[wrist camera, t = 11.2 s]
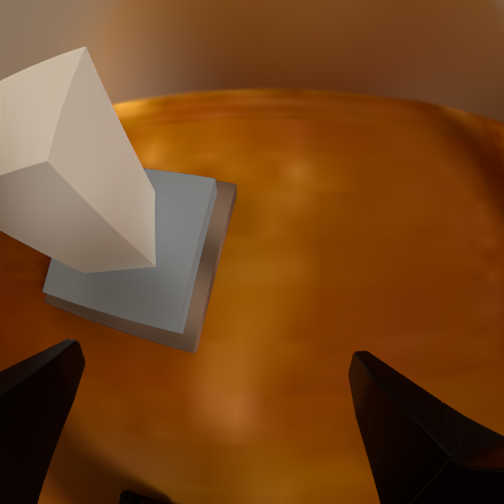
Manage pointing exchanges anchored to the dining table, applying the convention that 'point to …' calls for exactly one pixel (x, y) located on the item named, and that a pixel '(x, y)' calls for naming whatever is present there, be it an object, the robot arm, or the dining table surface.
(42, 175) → the ivory pillar block
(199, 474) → the dining table surface
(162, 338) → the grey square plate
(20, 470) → the robot arm
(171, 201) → the slate top slab
